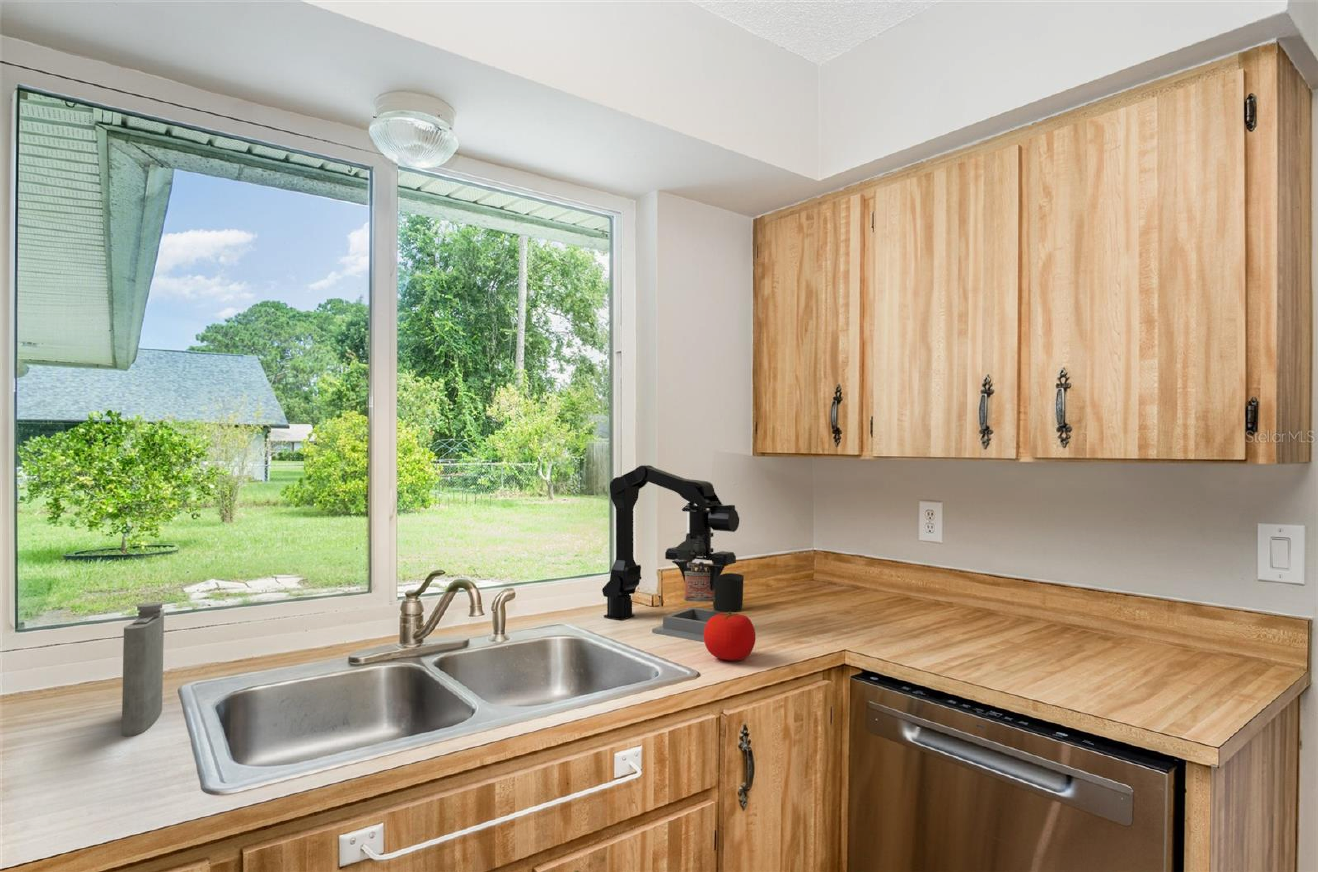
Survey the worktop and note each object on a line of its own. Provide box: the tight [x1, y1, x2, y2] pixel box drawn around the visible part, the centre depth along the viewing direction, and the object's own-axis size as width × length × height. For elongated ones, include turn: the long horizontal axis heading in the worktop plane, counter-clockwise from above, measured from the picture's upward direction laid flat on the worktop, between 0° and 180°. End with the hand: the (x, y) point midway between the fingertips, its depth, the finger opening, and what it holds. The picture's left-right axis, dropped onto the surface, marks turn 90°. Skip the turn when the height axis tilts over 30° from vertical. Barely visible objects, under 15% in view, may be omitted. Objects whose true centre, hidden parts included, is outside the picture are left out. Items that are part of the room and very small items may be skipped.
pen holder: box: [712, 572, 744, 613], centre depth 214 cm, size 9×9×10 cm
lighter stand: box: [651, 606, 726, 643], centre depth 187 cm, size 18×18×4 cm
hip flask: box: [121, 602, 165, 737], centre depth 125 cm, size 16×4×20 cm, turn 24°
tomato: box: [703, 612, 757, 661], centre depth 162 cm, size 11×12×10 cm
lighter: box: [683, 561, 715, 603], centre depth 188 cm, size 8×3×10 cm, turn 84°
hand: (699, 588), depth 188 cm, fingers closed on lighter, 7 cm apart
